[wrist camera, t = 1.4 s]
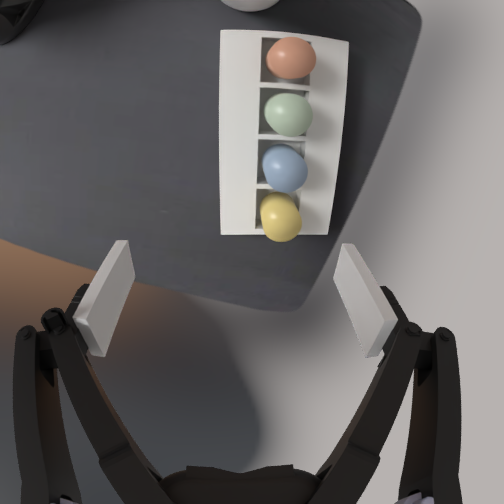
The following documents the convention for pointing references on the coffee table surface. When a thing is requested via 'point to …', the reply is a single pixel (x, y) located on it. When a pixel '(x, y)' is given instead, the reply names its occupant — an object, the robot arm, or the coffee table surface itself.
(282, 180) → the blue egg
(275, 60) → the orange rounded piece
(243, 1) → the candle holder
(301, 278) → the coffee table surface
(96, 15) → the coffee table surface
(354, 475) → the robot arm
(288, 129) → the pale green rounded piece
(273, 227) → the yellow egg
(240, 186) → the white slotted tray
